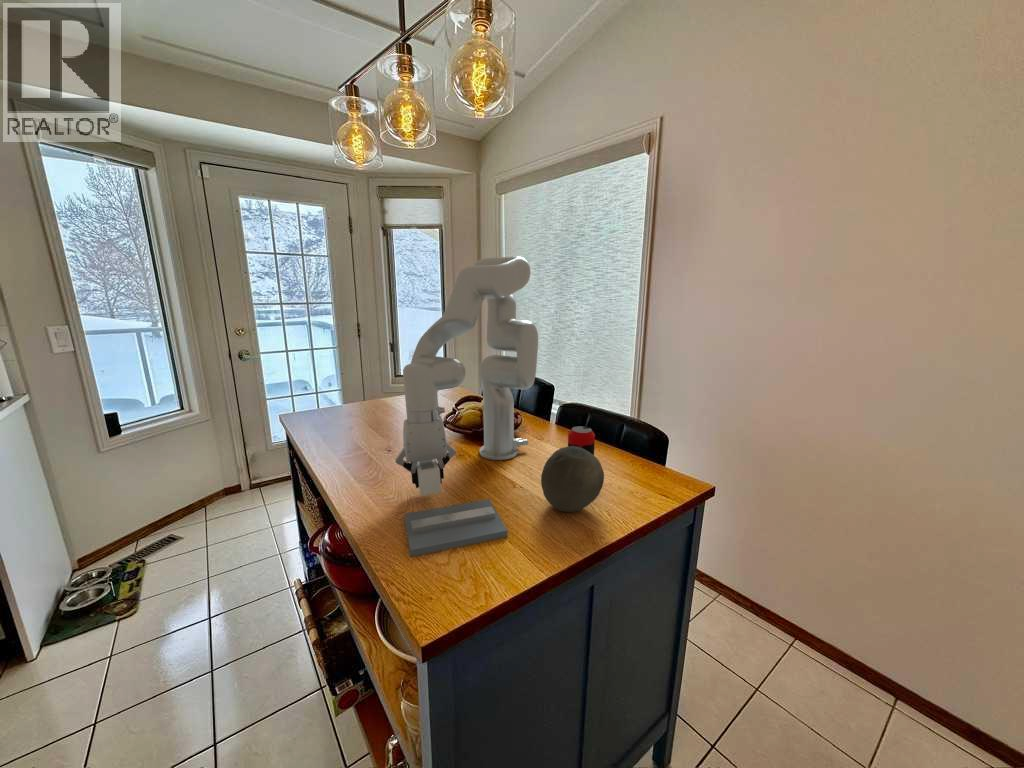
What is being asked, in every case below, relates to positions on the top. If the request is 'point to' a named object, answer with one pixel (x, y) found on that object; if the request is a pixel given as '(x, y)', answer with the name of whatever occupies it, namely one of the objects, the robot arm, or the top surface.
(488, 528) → the board
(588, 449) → the soda can
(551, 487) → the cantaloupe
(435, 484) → the module
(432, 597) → the top surface
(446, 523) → the steel rail
